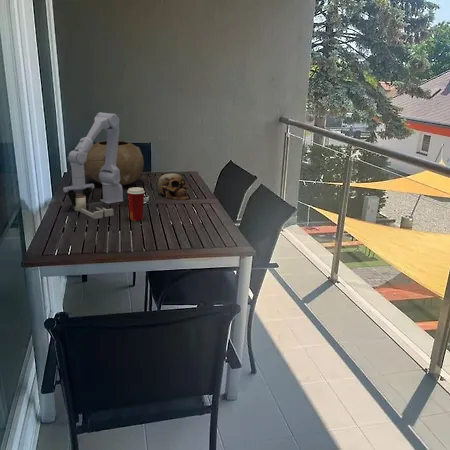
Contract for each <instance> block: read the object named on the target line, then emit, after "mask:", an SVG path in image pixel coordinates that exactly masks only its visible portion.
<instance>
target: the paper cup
mask: <svg viewBox="0 0 450 450" xmlns="http://www.w3.org/2000/svg"><path fill="white" fill-rule="evenodd" d="M126 192H127V196H128V209H129V219H130V221H133V222H140V221H143V219H144V203H145V192H146V191H145V190H144V188H143V187H129V188H128V189H127V191H126Z"/></svg>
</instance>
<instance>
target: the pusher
mask: <svg viewBox="0 0 450 450" xmlns="http://www.w3.org/2000/svg"><path fill="white" fill-rule="evenodd" d="M103 208H104V207H103V202H102V201H98V202H93V203H88V211H89V212H91V213H93V212H96V211H103V213H104V210H103Z"/></svg>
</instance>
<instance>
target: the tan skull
mask: <svg viewBox="0 0 450 450" xmlns="http://www.w3.org/2000/svg"><path fill="white" fill-rule="evenodd" d="M157 189H158V191H159V193H160V194H162V195H163V196H165V197H166V199H170V200H175V201H187V200H189V198H190V197H189V196H188V192H187V190H188V189H189V187H188V185H187V182H186V180H185V179H184V178H183V177H182V176H181V175H180V174H178V173H165V174H163V175H161V176H160V177H159V179H158V181H157Z"/></svg>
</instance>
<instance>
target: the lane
mask: <svg viewBox="0 0 450 450" xmlns="http://www.w3.org/2000/svg"><path fill="white" fill-rule="evenodd" d="M103 210H104V212H103V211H96V212H93V213H91V212H89V210H88V209H86V210H85V209H80V211H79V212H80V213H81V214H84V215H86V216H87V217H90V218H92V219H94V220H96V219H102V218H104V217H105V218H107V217H113V216H114V208H108V209H107V208H105V207H103Z"/></svg>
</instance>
